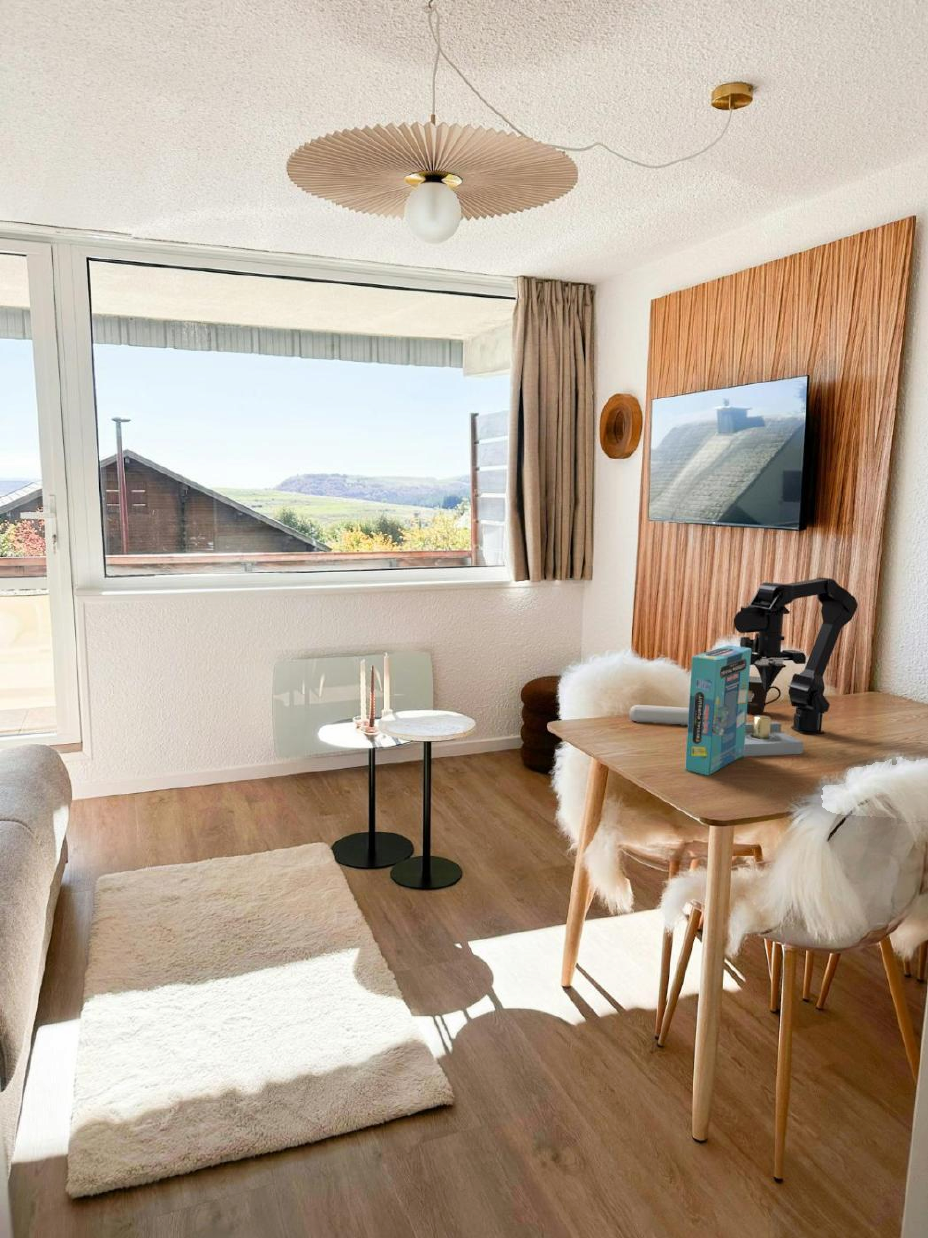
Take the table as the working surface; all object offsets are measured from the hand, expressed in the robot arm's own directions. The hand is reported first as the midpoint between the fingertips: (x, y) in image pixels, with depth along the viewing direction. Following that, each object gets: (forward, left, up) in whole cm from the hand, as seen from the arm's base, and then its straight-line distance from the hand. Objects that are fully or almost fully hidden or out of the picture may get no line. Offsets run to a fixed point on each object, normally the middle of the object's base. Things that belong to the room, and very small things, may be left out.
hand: (766, 689), depth 229 cm
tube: (+17, -16, -14) cm, 27 cm away
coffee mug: (-12, -24, -13) cm, 30 cm away
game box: (+24, +19, -13) cm, 33 cm away
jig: (+6, +9, -13) cm, 17 cm away
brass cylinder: (+6, +9, -13) cm, 17 cm away
